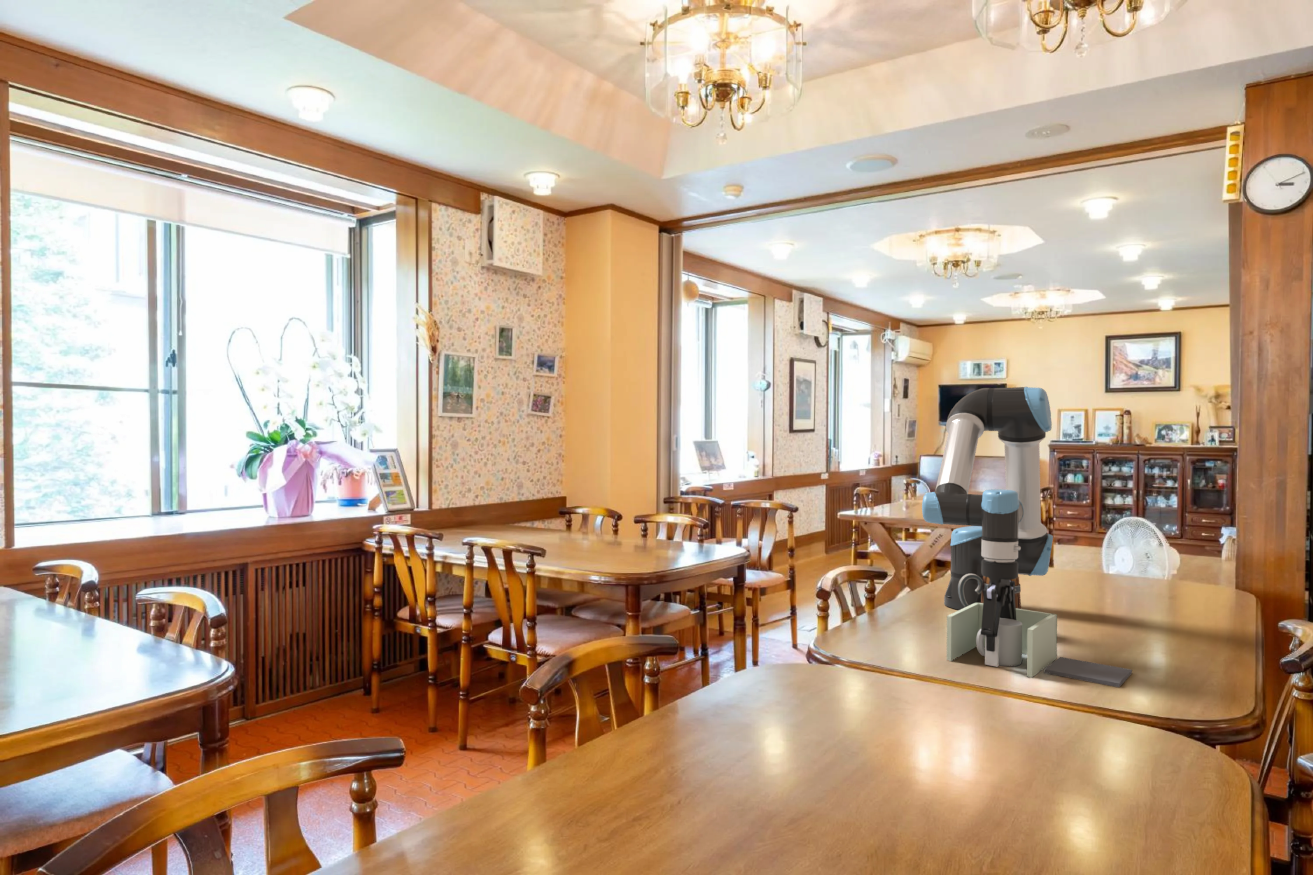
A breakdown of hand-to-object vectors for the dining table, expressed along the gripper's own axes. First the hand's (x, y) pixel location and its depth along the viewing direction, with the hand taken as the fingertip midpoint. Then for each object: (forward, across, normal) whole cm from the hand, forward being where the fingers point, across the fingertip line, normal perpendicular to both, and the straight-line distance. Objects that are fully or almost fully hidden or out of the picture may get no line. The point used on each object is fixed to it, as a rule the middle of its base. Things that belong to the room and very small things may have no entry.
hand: (999, 660), depth 176 cm
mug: (0, +24, +10) cm, 26 cm away
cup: (0, 0, 0) cm, 1 cm away
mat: (0, +4, -17) cm, 17 cm away
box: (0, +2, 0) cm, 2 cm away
